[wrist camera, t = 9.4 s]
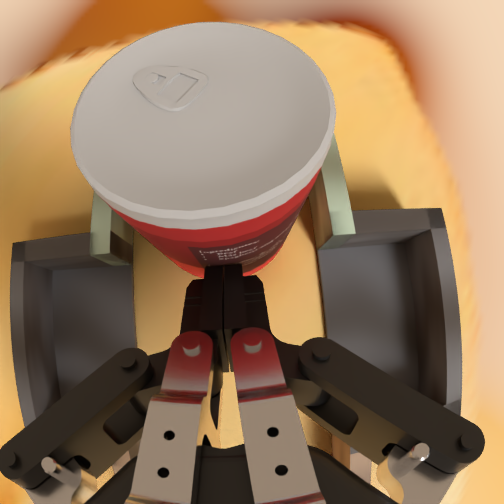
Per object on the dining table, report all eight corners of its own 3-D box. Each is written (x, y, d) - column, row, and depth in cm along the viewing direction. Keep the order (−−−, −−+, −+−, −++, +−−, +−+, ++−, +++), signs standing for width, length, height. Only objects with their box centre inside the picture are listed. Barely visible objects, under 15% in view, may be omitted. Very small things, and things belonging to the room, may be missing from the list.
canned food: (181, 151, 19) (138, 16, 8) (299, 180, 19) (350, 45, 8) (139, 260, 17) (25, 185, 7) (269, 299, 17) (311, 262, 6)
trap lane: (421, 491, 14) (451, 516, 10) (84, 515, 13) (59, 542, 8) (385, 126, 20) (409, 90, 16) (57, 154, 19) (28, 124, 15)
